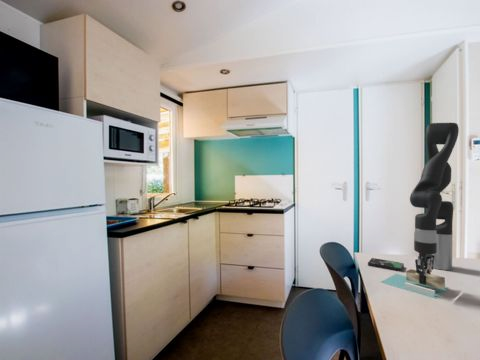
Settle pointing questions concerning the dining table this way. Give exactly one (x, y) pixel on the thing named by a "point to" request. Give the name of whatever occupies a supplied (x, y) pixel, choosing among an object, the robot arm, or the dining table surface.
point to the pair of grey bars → (420, 289)
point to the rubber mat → (401, 280)
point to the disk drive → (386, 264)
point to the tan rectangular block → (430, 279)
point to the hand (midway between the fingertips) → (424, 282)
